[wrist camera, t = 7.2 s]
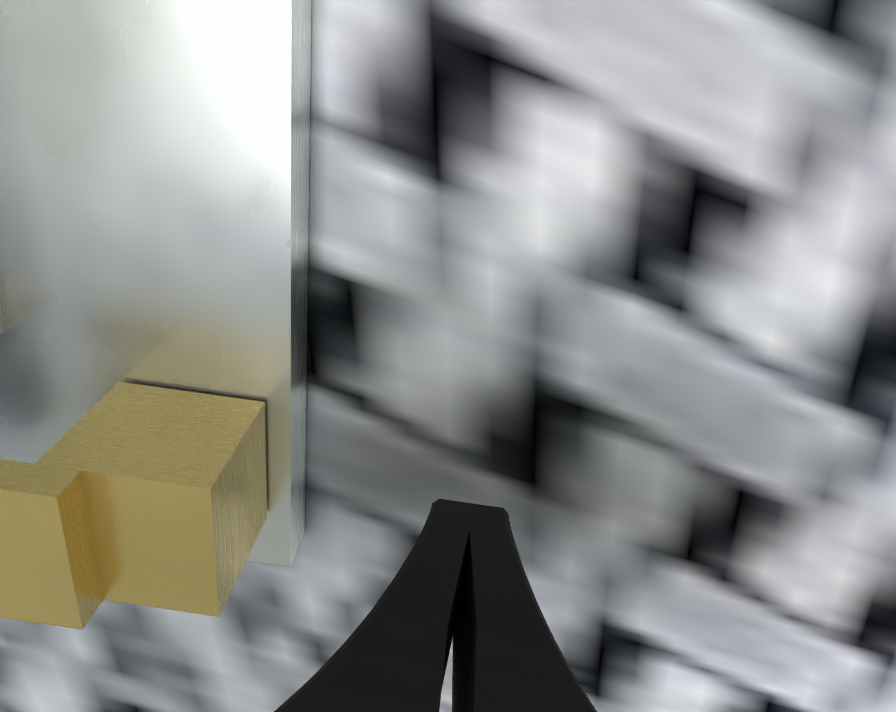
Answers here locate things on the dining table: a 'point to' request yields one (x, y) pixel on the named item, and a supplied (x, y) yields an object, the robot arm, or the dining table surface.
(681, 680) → the dining table surface
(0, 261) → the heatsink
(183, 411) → the block
